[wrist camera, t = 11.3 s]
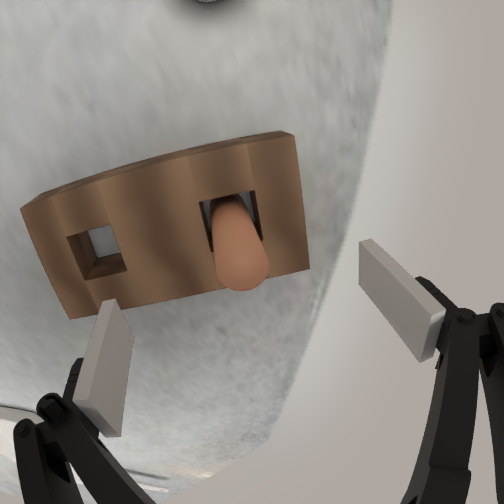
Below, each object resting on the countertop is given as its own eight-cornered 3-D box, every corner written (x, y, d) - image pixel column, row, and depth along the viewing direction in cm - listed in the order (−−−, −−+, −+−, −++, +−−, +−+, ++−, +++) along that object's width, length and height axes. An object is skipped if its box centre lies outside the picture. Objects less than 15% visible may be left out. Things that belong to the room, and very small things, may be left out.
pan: (-24, 377, 35) (-33, 394, 31) (187, 451, 48) (188, 472, 44) (-5, 441, 44) (-9, 455, 40) (153, 493, 58) (153, 508, 54)
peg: (214, 225, 30) (222, 296, 20) (206, 193, 29) (210, 251, 18) (246, 217, 30) (272, 284, 20) (240, 186, 29) (264, 238, 18)
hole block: (81, 294, 31) (69, 319, 27) (40, 193, 26) (19, 208, 22) (296, 247, 33) (309, 268, 29) (280, 130, 27) (294, 135, 23)
